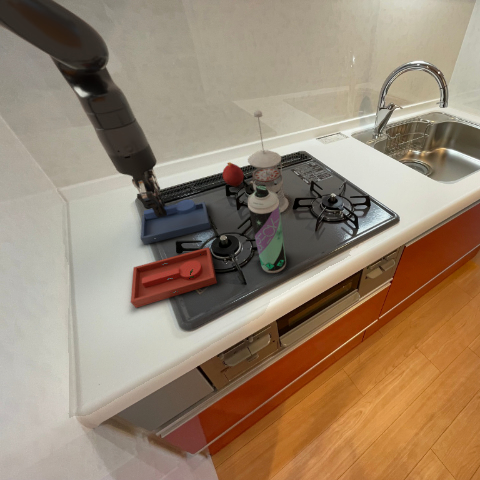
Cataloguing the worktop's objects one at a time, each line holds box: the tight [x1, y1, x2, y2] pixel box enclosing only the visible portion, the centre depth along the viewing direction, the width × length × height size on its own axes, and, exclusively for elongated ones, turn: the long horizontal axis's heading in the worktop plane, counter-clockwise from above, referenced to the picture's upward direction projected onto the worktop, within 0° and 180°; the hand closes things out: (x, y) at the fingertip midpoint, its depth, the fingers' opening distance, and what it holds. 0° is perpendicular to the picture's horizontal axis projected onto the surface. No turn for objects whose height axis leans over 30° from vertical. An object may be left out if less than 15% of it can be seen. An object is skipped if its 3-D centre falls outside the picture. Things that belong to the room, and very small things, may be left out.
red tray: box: [130, 247, 218, 309], centre depth 56 cm, size 15×9×2 cm, turn 113°
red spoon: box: [142, 261, 202, 288], centre depth 56 cm, size 11×4×2 cm, turn 113°
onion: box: [222, 161, 245, 188], centre depth 79 cm, size 6×6×8 cm
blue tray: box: [140, 201, 212, 246], centre depth 68 cm, size 15×9×2 cm, turn 113°
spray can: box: [247, 185, 287, 274], centre depth 53 cm, size 6×6×20 cm
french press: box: [247, 109, 290, 214], centre depth 68 cm, size 10×12×25 cm
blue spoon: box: [143, 199, 196, 219], centre depth 66 cm, size 11×4×2 cm, turn 113°
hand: (162, 213), depth 66 cm, fingers closed on blue spoon, 1 cm apart
